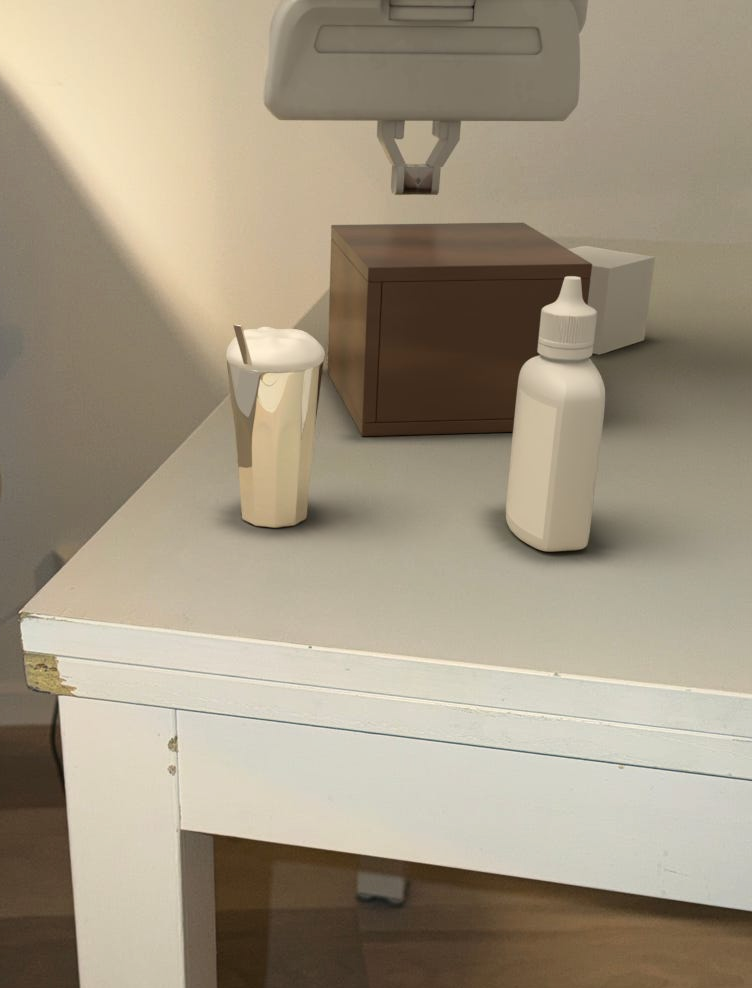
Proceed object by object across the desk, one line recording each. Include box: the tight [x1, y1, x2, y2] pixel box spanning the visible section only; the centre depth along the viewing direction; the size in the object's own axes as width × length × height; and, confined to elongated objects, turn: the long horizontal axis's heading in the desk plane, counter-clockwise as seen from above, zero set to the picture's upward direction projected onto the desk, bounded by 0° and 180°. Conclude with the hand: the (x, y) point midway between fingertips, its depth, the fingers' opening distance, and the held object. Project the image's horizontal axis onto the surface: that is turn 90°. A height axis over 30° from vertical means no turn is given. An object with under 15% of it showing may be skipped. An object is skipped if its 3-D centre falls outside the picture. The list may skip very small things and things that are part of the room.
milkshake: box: [225, 323, 326, 529], centre depth 62 cm, size 4×5×10 cm
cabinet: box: [327, 222, 592, 437], centre depth 80 cm, size 14×13×10 cm
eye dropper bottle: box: [505, 276, 606, 553], centre depth 60 cm, size 4×6×12 cm
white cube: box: [567, 245, 656, 356], centre depth 95 cm, size 6×6×6 cm
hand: (414, 193), depth 87 cm, fingers closed
